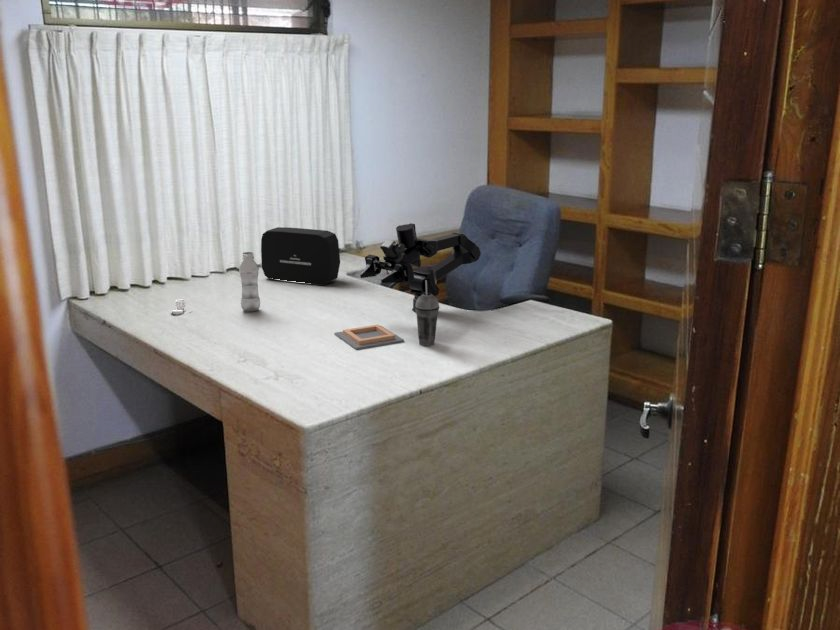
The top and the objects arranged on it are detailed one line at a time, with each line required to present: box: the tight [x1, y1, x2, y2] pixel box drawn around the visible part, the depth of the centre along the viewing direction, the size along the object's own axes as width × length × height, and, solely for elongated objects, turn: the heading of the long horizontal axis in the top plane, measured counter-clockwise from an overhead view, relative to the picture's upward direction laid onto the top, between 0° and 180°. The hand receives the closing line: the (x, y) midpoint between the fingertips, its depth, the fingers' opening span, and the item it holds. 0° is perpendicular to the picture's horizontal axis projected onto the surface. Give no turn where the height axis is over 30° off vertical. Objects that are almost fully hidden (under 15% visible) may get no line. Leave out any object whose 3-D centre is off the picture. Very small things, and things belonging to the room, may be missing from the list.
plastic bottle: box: [238, 251, 261, 312], centre depth 262 cm, size 6×7×20 cm
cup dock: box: [334, 324, 405, 351], centre depth 237 cm, size 16×16×2 cm
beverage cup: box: [415, 280, 440, 347], centre depth 230 cm, size 7×7×20 cm
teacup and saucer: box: [171, 298, 186, 315], centre depth 263 cm, size 9×8×4 cm
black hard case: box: [260, 226, 341, 286], centre depth 303 cm, size 30×12×20 cm, turn 69°
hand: (370, 278), depth 242 cm, fingers open, 9 cm apart
